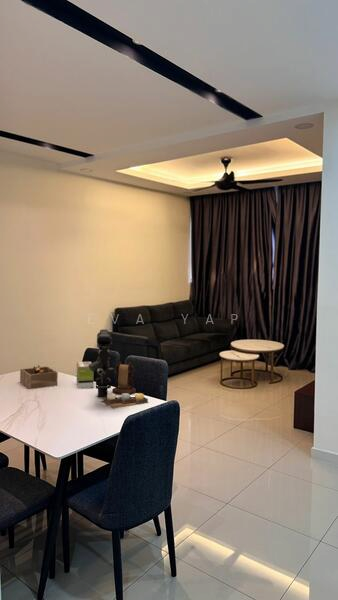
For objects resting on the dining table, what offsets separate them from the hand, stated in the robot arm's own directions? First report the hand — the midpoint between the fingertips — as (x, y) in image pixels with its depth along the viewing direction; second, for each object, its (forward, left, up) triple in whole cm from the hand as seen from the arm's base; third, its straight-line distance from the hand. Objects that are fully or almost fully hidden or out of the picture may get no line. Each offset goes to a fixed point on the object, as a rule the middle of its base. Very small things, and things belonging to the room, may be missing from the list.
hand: (103, 383), depth 236 cm
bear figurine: (-62, -14, -12) cm, 65 cm away
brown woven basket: (-14, +22, -12) cm, 29 cm away
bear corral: (-62, -16, -12) cm, 65 cm away
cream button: (+1, +5, -11) cm, 12 cm away
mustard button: (+9, +19, -10) cm, 23 cm away
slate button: (+5, +12, -10) cm, 17 cm away
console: (+5, +12, -12) cm, 17 cm away
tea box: (-44, +9, -12) cm, 47 cm away
